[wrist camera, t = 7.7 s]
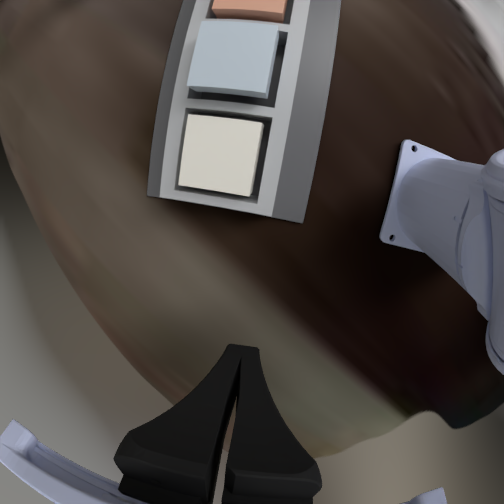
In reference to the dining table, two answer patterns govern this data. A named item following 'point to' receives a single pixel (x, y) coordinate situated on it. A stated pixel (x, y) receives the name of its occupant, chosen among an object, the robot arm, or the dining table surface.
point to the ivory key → (220, 154)
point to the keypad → (253, 110)
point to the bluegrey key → (234, 58)
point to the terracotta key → (251, 10)
